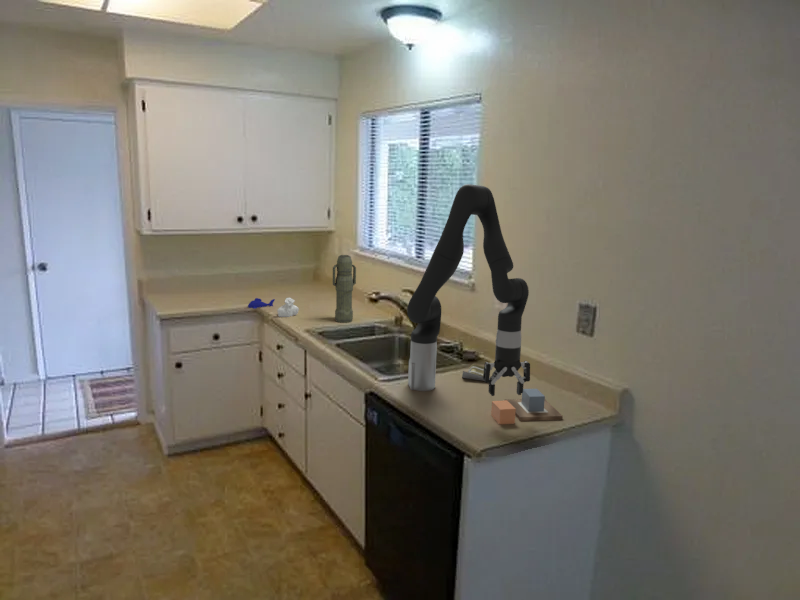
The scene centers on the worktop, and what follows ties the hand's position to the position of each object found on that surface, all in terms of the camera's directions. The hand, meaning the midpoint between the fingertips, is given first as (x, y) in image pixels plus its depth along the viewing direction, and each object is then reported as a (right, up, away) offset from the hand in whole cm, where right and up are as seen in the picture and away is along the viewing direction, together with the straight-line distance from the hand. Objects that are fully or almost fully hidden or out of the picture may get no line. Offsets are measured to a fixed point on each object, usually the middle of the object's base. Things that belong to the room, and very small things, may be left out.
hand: (505, 394), depth 178 cm
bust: (-92, +20, +126) cm, 157 cm away
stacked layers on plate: (-5, -1, +37) cm, 38 cm away
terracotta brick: (-1, -8, +2) cm, 8 cm away
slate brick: (+10, -6, +9) cm, 15 cm away
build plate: (+10, -7, +9) cm, 15 cm away
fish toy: (-110, +24, +143) cm, 182 cm away
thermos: (-61, +17, +117) cm, 134 cm away
